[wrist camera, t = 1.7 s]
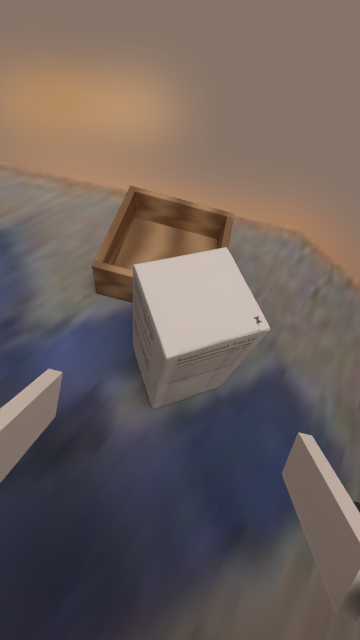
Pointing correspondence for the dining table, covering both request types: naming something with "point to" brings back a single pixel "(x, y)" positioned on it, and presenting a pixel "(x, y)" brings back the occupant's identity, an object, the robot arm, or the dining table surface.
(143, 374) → the supplement box
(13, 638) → the dining table surface
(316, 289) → the dining table surface
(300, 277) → the dining table surface
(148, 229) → the oak crate
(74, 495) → the dining table surface
